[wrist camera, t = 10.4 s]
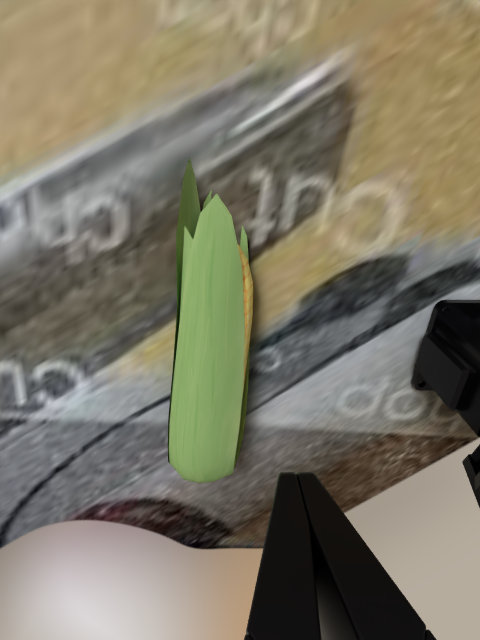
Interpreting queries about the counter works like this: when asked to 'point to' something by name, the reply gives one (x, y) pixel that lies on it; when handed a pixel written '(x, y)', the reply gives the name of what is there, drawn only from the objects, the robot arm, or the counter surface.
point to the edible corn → (209, 339)
